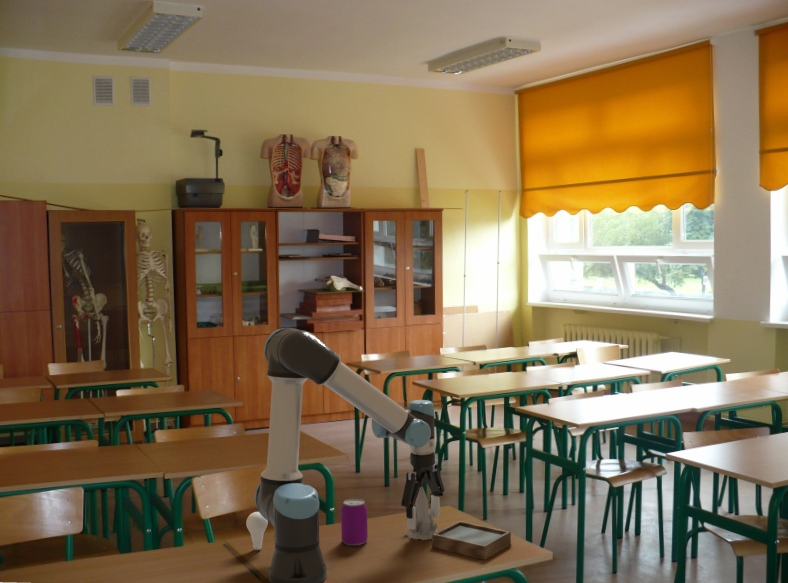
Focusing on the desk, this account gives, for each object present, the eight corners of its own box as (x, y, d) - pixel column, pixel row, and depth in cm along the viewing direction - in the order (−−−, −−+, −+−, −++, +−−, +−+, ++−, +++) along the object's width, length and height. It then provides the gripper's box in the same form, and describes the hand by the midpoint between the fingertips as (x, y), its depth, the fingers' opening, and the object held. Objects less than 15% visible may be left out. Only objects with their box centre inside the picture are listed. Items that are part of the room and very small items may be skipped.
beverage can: (342, 547, 229) (341, 506, 229) (341, 538, 237) (340, 498, 237) (368, 546, 230) (367, 505, 230) (366, 537, 238) (366, 497, 237)
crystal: (409, 543, 232) (408, 492, 231) (404, 528, 245) (403, 480, 244) (443, 541, 233) (442, 491, 232) (436, 526, 246) (435, 479, 245)
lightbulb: (242, 551, 227) (241, 513, 227) (255, 544, 232) (254, 507, 232) (259, 555, 224) (258, 516, 224) (272, 548, 230) (271, 510, 229)
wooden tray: (432, 546, 228) (432, 534, 228) (459, 532, 240) (459, 520, 240) (484, 559, 218) (484, 546, 217) (510, 544, 229) (510, 531, 229)
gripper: (408, 462, 226) (410, 536, 227) (454, 445, 246) (456, 514, 246) (388, 458, 231) (389, 531, 232) (434, 442, 250) (436, 510, 251)
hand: (423, 522), depth 239 cm, fingers closed on crystal, 12 cm apart
